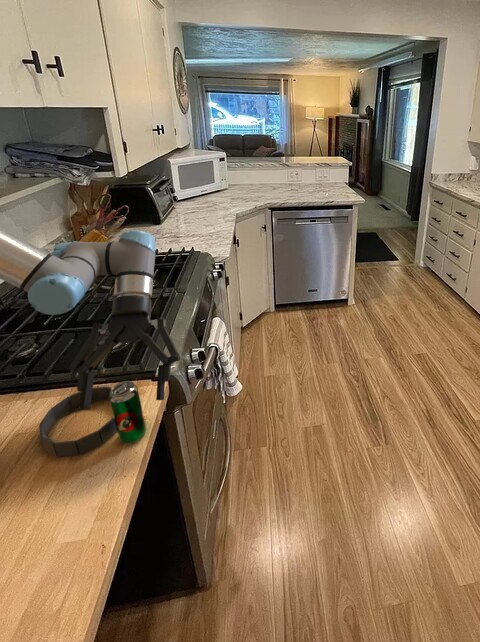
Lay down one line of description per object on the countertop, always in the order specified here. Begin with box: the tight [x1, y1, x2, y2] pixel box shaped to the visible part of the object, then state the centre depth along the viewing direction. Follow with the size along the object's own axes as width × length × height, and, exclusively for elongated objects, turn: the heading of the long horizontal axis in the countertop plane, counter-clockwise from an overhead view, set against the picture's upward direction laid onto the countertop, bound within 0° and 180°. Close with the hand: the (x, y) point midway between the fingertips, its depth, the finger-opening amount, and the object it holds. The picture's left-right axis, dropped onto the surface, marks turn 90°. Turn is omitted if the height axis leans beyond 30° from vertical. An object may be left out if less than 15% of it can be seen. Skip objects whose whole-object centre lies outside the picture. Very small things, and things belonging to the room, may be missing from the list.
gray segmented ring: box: [38, 386, 117, 459], centre depth 75 cm, size 15×15×4 cm
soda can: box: [108, 380, 148, 444], centre depth 71 cm, size 5×5×12 cm
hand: (123, 404), depth 69 cm, fingers open, 13 cm apart
